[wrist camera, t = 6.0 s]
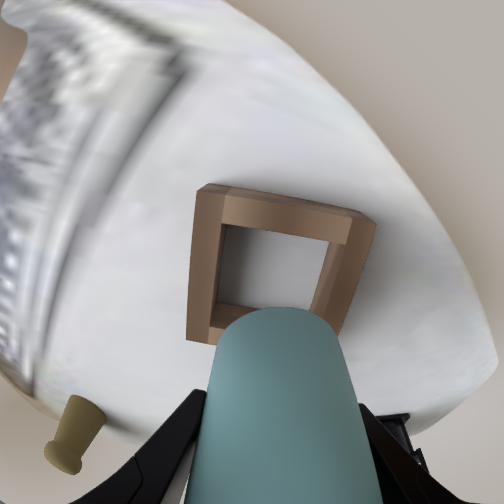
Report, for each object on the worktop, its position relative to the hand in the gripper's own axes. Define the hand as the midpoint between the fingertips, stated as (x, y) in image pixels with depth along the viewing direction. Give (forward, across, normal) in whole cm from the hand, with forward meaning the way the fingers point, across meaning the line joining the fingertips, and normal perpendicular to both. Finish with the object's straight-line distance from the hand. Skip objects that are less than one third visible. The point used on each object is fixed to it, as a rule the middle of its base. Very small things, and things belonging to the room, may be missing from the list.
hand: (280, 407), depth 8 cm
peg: (+2, 0, 0) cm, 2 cm away
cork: (+11, +20, +26) cm, 35 cm away
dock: (+11, 0, +2) cm, 11 cm away
